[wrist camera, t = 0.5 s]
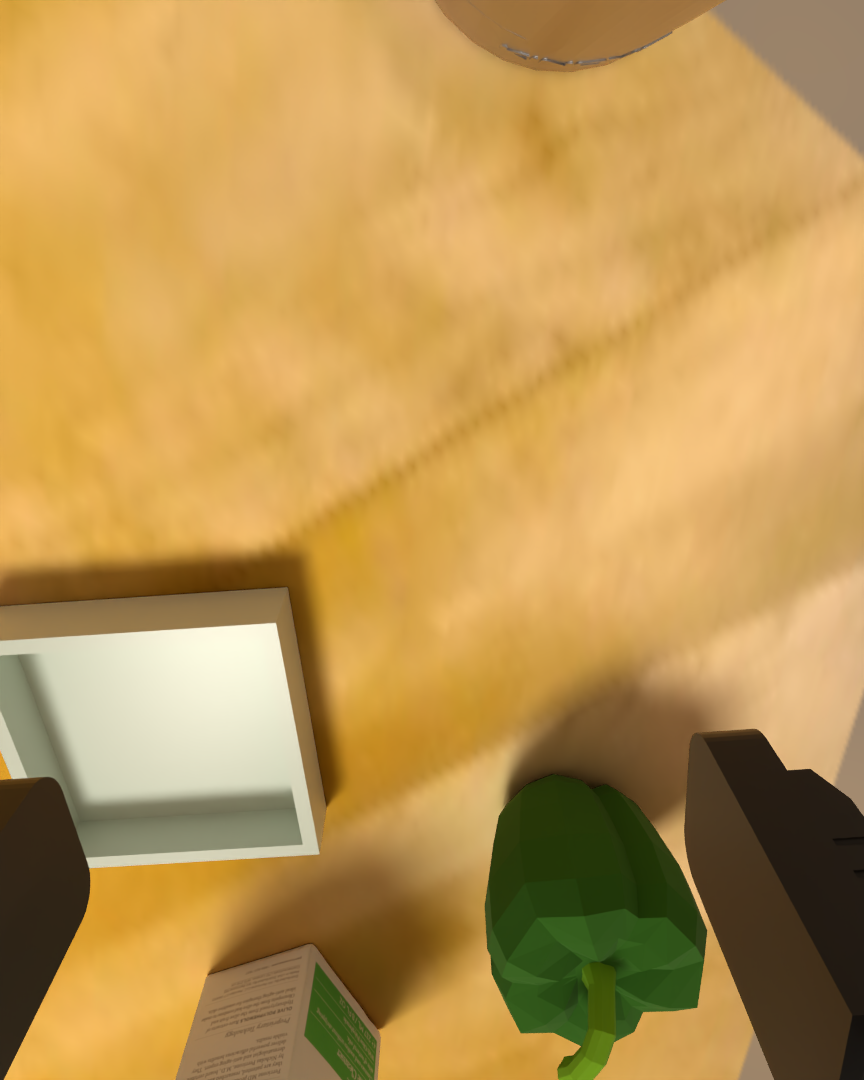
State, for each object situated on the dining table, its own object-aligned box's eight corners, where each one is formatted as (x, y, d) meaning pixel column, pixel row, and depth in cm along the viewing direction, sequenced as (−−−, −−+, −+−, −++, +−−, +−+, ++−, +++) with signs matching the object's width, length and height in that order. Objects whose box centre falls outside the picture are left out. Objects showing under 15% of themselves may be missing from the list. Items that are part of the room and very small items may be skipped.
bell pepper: (587, 712, 31) (654, 932, 22) (691, 823, 34) (789, 1059, 25) (431, 809, 33) (434, 1045, 24) (540, 906, 36) (579, 1149, 27)
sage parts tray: (-7, 606, 28) (-44, 643, 26) (287, 586, 28) (276, 622, 26) (75, 823, 33) (49, 870, 31) (326, 808, 33) (319, 854, 31)
